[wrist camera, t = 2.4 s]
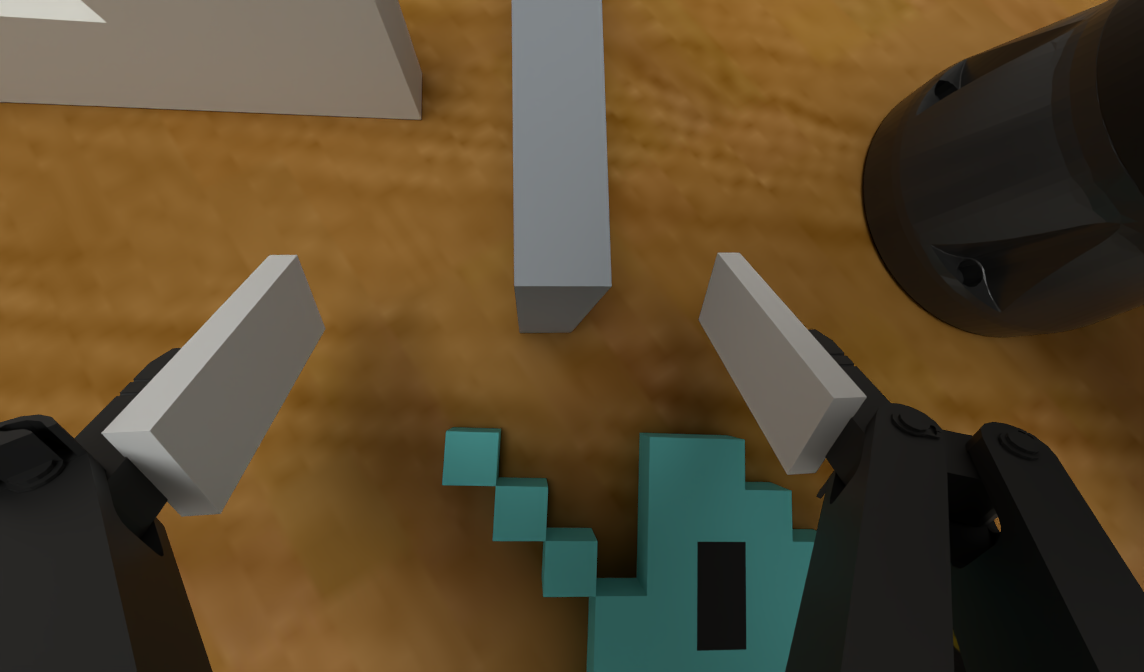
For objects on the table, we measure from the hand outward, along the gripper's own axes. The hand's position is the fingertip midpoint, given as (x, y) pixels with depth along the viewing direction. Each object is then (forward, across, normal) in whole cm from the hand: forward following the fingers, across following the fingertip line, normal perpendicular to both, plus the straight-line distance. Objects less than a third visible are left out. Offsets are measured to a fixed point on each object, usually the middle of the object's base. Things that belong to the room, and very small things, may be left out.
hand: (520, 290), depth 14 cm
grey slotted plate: (+11, +1, +2) cm, 12 cm away
